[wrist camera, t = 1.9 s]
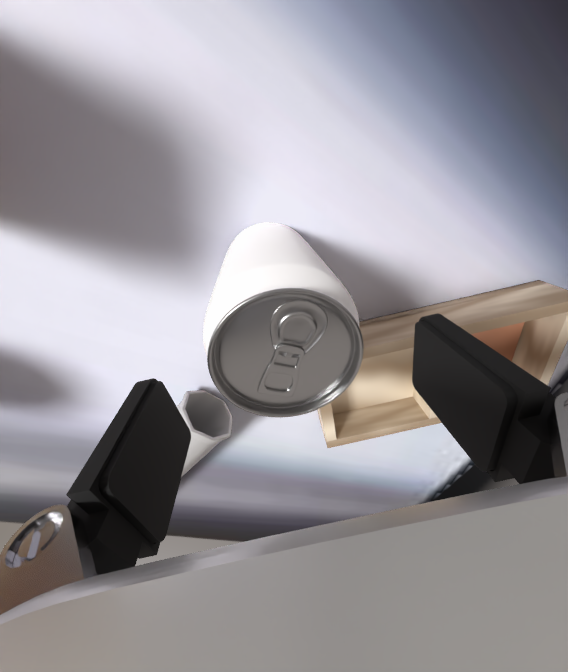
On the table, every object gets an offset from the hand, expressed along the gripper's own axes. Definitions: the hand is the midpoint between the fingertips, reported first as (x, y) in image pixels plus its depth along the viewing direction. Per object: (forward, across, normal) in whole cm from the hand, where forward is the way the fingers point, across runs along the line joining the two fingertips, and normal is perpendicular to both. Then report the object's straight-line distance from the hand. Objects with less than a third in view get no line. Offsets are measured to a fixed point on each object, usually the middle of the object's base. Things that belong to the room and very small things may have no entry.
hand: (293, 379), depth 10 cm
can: (+12, 0, -1) cm, 12 cm away
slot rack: (+12, -12, +11) cm, 20 cm away
